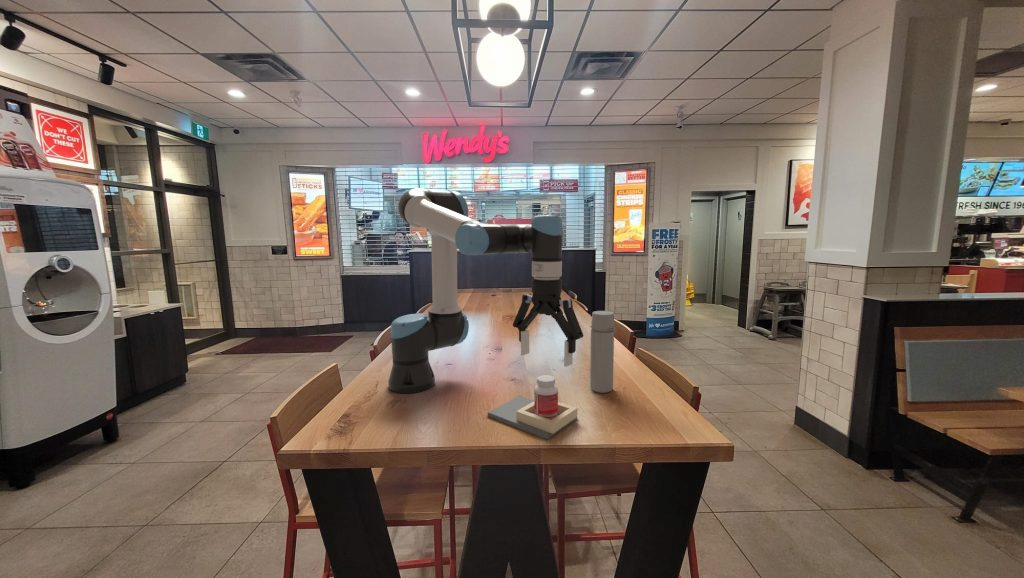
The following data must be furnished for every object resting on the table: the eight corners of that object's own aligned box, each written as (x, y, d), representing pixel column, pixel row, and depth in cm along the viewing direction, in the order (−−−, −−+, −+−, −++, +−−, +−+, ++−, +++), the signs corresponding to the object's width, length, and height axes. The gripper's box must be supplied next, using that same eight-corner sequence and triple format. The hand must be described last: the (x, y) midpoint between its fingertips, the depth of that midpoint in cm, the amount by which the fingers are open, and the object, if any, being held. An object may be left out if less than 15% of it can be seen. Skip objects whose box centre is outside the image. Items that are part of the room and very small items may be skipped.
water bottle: (604, 396, 118) (606, 316, 115) (584, 389, 124) (585, 312, 121) (621, 388, 124) (623, 311, 121) (601, 381, 130) (602, 308, 127)
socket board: (487, 416, 107) (487, 403, 106) (519, 399, 117) (519, 387, 117) (550, 440, 93) (550, 426, 93) (579, 419, 104) (579, 406, 103)
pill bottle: (562, 419, 101) (562, 379, 100) (544, 426, 98) (544, 384, 96) (547, 411, 106) (547, 372, 105) (529, 417, 103) (529, 377, 102)
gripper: (499, 275, 102) (500, 353, 105) (582, 283, 86) (580, 374, 89) (517, 273, 108) (517, 346, 111) (598, 280, 92) (596, 365, 95)
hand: (545, 359), depth 100 cm, fingers open, 13 cm apart
